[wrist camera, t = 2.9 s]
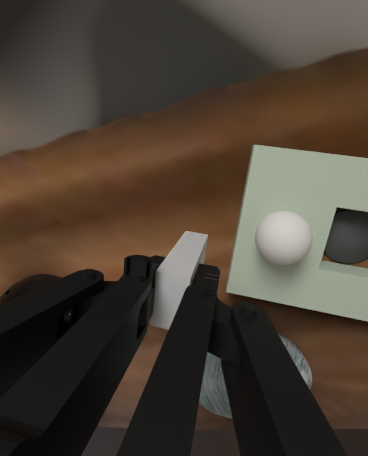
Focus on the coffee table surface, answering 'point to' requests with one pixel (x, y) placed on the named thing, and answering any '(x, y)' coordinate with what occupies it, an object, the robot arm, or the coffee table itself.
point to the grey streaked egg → (215, 385)
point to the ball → (283, 237)
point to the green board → (320, 226)
